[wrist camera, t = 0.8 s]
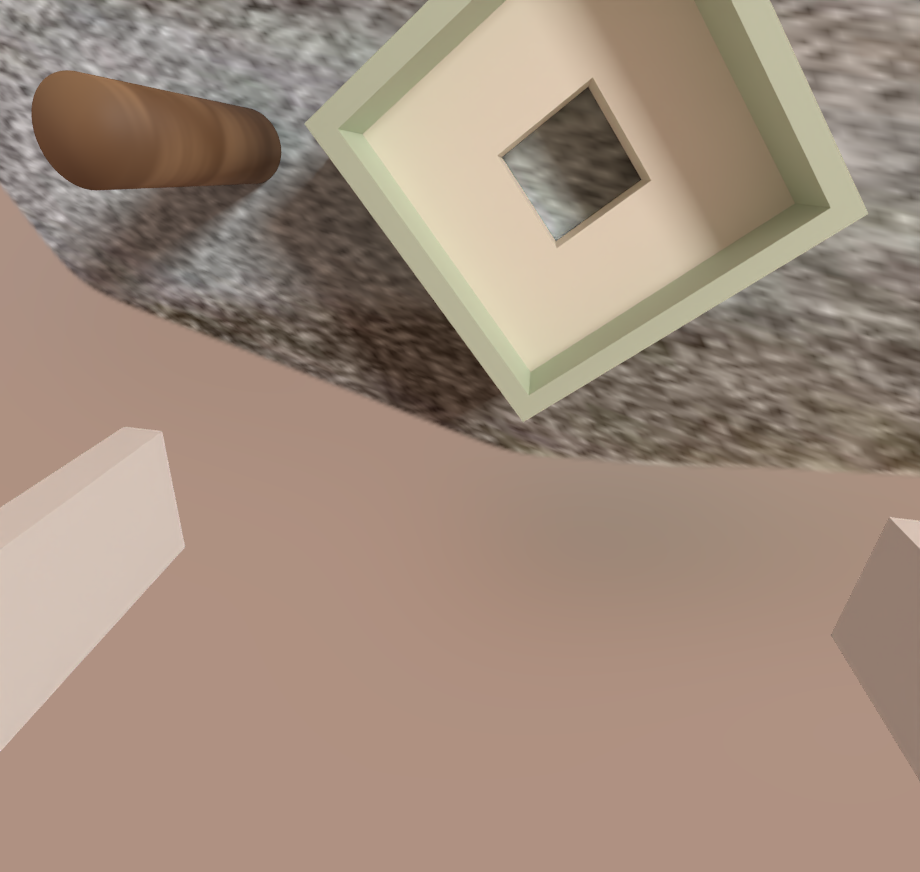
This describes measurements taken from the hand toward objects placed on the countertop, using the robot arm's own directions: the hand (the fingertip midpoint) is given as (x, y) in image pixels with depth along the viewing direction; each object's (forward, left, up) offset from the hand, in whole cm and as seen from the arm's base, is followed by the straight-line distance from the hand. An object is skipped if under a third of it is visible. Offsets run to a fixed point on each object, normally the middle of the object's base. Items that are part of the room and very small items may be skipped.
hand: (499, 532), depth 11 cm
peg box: (-4, +5, -23) cm, 24 cm away
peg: (-15, -8, -23) cm, 29 cm away
